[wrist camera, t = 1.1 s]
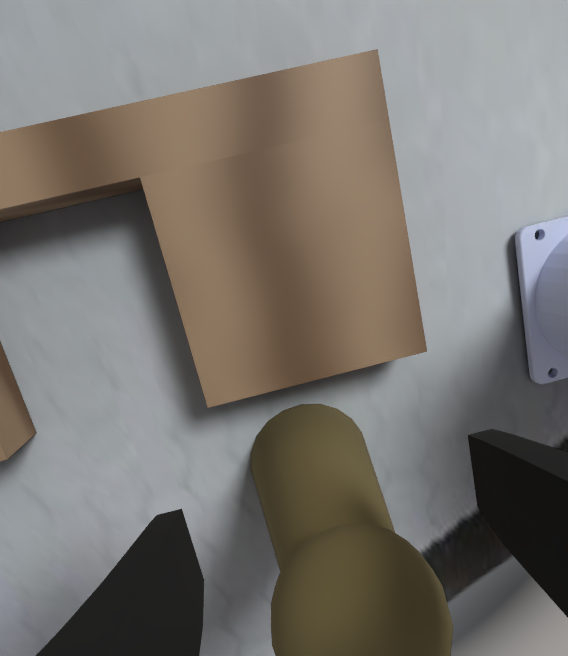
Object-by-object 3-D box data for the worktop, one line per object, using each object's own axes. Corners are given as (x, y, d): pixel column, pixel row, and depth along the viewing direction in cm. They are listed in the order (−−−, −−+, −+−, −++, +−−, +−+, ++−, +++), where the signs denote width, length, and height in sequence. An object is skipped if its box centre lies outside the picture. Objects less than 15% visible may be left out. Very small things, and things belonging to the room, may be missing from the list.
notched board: (358, 76, 18) (377, 49, 15) (405, 338, 20) (427, 351, 18) (-161, 191, 17) (-230, 182, 14) (-44, 453, 19) (-85, 483, 17)
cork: (337, 382, 20) (441, 534, 10) (384, 478, 22) (522, 704, 11) (229, 438, 20) (213, 650, 10) (283, 530, 22) (321, 807, 11)
